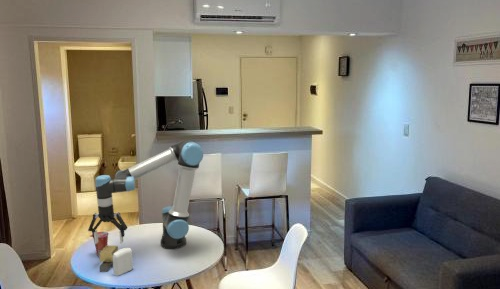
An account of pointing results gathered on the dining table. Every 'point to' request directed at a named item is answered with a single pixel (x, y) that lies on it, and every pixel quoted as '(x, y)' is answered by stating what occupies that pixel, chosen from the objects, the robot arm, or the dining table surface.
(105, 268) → the rail
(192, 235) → the dining table surface
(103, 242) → the cup
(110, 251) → the mottled tan brick
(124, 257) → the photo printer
